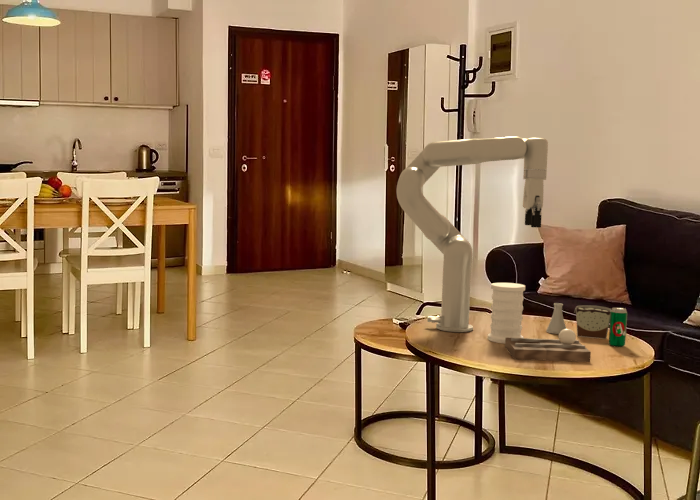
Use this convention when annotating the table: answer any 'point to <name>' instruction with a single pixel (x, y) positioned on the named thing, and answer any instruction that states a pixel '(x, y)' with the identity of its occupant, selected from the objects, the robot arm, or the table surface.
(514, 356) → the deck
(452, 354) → the table surface
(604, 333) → the food container
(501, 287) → the decorative container
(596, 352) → the table surface
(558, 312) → the flask
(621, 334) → the soda can
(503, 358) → the table surface
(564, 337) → the ball
